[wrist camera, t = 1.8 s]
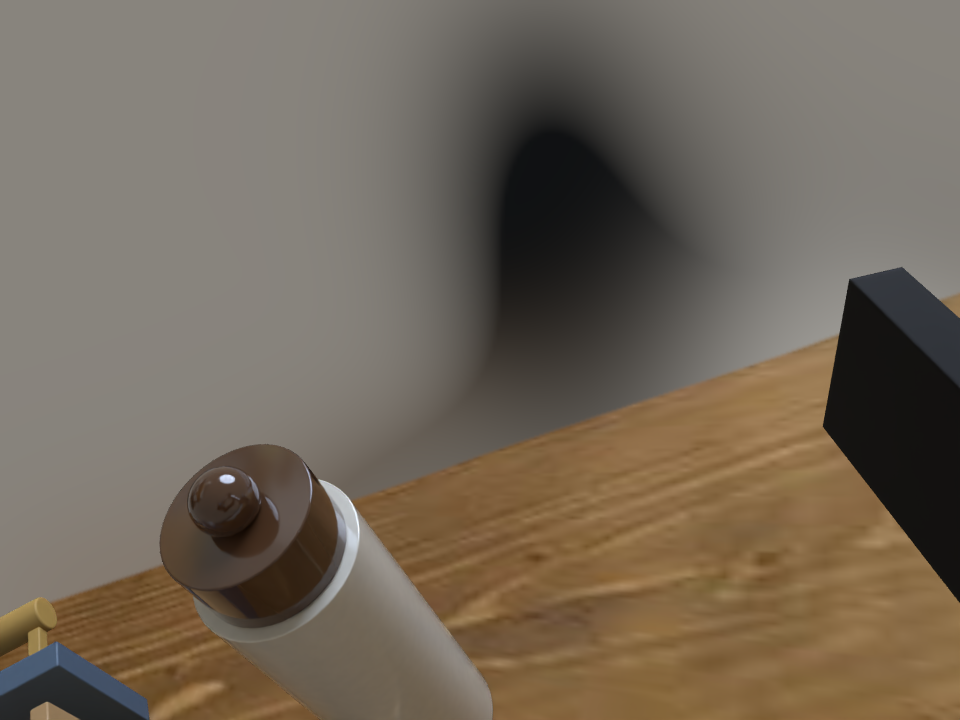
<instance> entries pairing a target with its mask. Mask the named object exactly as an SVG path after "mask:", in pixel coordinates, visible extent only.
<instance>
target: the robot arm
mask: <svg viewBox="0 0 960 720" xmlns="http://www.w3.org/2000/svg"><path fill="white" fill-rule="evenodd" d="M823 427H824V429H825V430H826V431H827V433H828V434H829V435H830V437H831V438H832V439H833V440H834V442H835V443H836V444H837V446H838V447H839V448H840V449H841V451H842V452H843V453H844V455H845V456H846V457H847V458H848V460H849V461H850V462H851V464H852V465H853V466H854V467H855V469H856V470H857V471H858V473H859V474H860V475H861V476H862V478H863V479H864V480H865V482H866V483H867V484H868V485H869V487H870V488H871V489H872V491H873V492H874V493H875V494H876V496H877V497H878V498H879V500H880V501H881V502H882V503H883V505H884V506H885V507H886V509H887V510H888V511H889V512H890V514H891V515H892V516H893V518H894V519H895V520H896V521H897V523H898V524H899V525H900V527H901V528H902V529H903V530H904V532H905V533H906V534H907V536H908V537H909V538H910V539H911V541H912V542H913V543H914V545H915V546H916V547H917V548H918V550H919V551H920V552H921V554H922V555H923V556H924V557H925V559H926V560H927V561H928V563H929V564H930V565H931V566H932V568H933V569H934V570H935V572H936V573H937V574H938V575H939V577H940V578H941V579H942V581H943V582H944V583H945V584H946V586H947V587H948V588H949V590H950V591H951V592H952V593H953V595H954V596H955V597H956V599H957V600H958V601H959V602H960V318H959V317H957V316H956V315H955V314H954V313H953V312H952V311H951V310H950V309H948V308H947V307H946V306H945V305H944V304H943V303H942V302H941V301H940V300H938V299H937V298H936V297H935V296H934V295H933V294H932V293H931V292H929V291H928V290H927V289H926V288H925V287H924V286H923V285H922V284H920V283H919V282H918V281H917V280H916V279H915V278H914V277H912V276H911V275H910V274H909V273H908V272H907V271H906V270H905V269H904V268H902V267H901V268H896V269H892V270H887V271H883V272H879V273H874V274H870V275H866V276H861V277H857V278H853V279H849V284H848V290H847V295H846V300H845V306H844V312H843V318H842V323H841V328H840V334H839V339H838V345H837V350H836V356H835V362H834V367H833V373H832V378H831V384H830V389H829V395H828V400H827V406H826V411H825V417H824V423H823Z"/></svg>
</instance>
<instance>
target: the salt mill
mask: <svg viewBox="0 0 960 720" xmlns="http://www.w3.org/2000/svg"><path fill="white" fill-rule="evenodd" d="M160 554H161V558H162V562H163V564H164V567H165V569H166V570H167V572H168V573H169V575H170V576H171V577H172V578H173V579H174V580H175V581H176V582H177V583H179V584H180V585H181V586H182V587H183V588H184V589H186V590H187V591H188V592H189V593H190V594H191V595H193V599H194V603H195V607H196V610H197V612H198V614H199V616H200V618H201V619H202V621H203V622H204V624H205V625H206V626H207V627H208V628H209V629H210V630H211V631H212V632H213V633H215V634H216V635H217V636H218V637H220V638H221V639H222V640H223V641H224V642H226V643H227V644H228V645H229V646H230V647H232V648H233V649H234V650H235V651H237V652H238V653H239V654H240V655H241V656H243V657H244V658H245V659H246V660H248V661H249V662H250V663H251V664H252V665H254V666H255V667H256V668H257V669H259V670H260V671H261V672H262V673H263V674H265V675H266V676H267V677H268V678H269V679H271V680H272V681H273V682H274V683H276V684H277V685H278V686H279V687H280V688H282V689H283V690H284V691H285V692H287V693H288V694H289V695H290V696H291V697H293V698H294V699H295V700H296V701H297V702H299V703H300V704H301V705H302V706H304V707H305V708H306V709H307V710H308V711H310V712H311V713H312V714H313V715H315V716H316V717H317V718H318V719H319V720H492V713H493V707H492V699H491V694H490V690H489V688H488V685H487V683H486V681H485V679H484V677H483V676H482V674H481V673H480V672H479V670H478V669H477V668H476V666H475V665H474V664H473V662H472V661H471V660H470V658H469V657H468V656H467V654H466V653H465V652H464V650H463V649H462V648H461V646H460V645H459V644H458V642H457V641H456V640H455V638H454V637H453V636H452V634H451V633H450V632H449V630H448V629H447V628H446V627H445V625H444V624H443V623H442V621H441V620H440V619H439V617H438V616H437V615H436V613H435V612H434V611H433V609H432V608H431V607H430V605H429V604H428V603H427V601H426V600H425V599H424V597H423V596H422V595H421V593H420V592H419V591H418V589H417V588H416V587H415V585H414V584H413V583H412V581H411V580H410V579H409V577H408V576H407V575H406V573H405V572H404V571H403V569H402V568H401V567H400V565H399V564H398V563H397V561H396V560H395V559H394V557H393V556H392V555H391V553H390V552H389V551H388V549H387V548H386V547H385V546H384V544H383V543H382V542H381V540H380V539H379V538H378V536H377V535H376V534H375V532H374V531H373V530H372V528H371V527H370V526H369V524H368V523H367V522H366V520H365V519H364V518H363V516H362V515H361V514H360V512H359V511H358V510H357V508H356V507H355V506H354V504H353V503H352V502H351V500H350V499H349V498H348V496H347V495H345V493H343V492H342V490H340V489H339V488H337V487H336V486H334V485H332V484H330V483H328V482H326V481H322V480H318V479H317V478H316V477H315V475H314V474H313V473H312V471H311V470H310V469H309V467H308V466H307V465H306V464H305V462H304V461H303V460H302V459H301V458H300V457H299V456H298V455H297V454H295V453H294V452H292V451H291V450H288V449H286V448H284V447H280V446H277V445H269V444H258V445H251V446H246V447H242V448H239V449H236V450H233V451H231V452H228V453H226V454H224V455H222V456H220V457H218V458H217V459H215V460H213V461H212V462H210V463H209V464H207V465H206V466H205V467H203V468H202V469H201V470H200V471H199V472H197V473H196V474H195V475H194V476H193V477H192V478H191V479H190V480H189V481H188V482H187V483H186V484H185V486H184V487H183V488H182V489H181V490H180V492H179V493H178V494H177V496H176V497H175V499H174V500H173V502H172V504H171V506H170V507H169V509H168V512H167V514H166V516H165V519H164V522H163V525H162V529H161V534H160Z"/></svg>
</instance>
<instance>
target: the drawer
mask: <svg viewBox="0 0 960 720" xmlns="http://www.w3.org/2000/svg"><path fill="white" fill-rule="evenodd" d="M56 624H57V617H56V613H55V610H54V608H53V607H52V605H51V604H50V603H49V601H47V600H46V599H45V598H41V597H40V598H36V599H34V600H33V601H31V602H29V603H27V604H25V605H23V606H21V607H19V608H17V609H16V610H14V611H12V612H10V613H8V614H6V615H4V616H2V617H0V657H1V656H3V655H4V654H6V653H8V652H10V651H12V650H14V649H16V648H18V647H20V646H21V645H23V644H25V643H27V642H28V657H26V658H25V659H23V660H21V661H19V662H17V663H15V664H13V665H11V666H10V667H8V668H6V669H4V670H2V671H0V720H149V712H148V704H147V699H145V698H144V697H142V696H141V695H139V694H138V693H136V692H135V691H133V690H132V689H130V688H128V687H127V686H125V685H124V684H122V683H121V682H119V681H118V680H116V679H114V678H113V677H111V676H110V675H108V674H107V673H105V672H104V671H102V670H100V669H99V668H97V667H96V666H94V665H93V664H91V663H90V662H88V661H86V660H85V659H83V658H82V657H80V656H79V655H77V654H76V653H74V652H73V651H71V650H69V649H68V648H66V647H65V646H63V645H62V644H60V643H59V642H55V643H53V644H51V645H49V646H47V632H48V631H50V630H51V629H53V628H54V627H55V626H56Z"/></svg>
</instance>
